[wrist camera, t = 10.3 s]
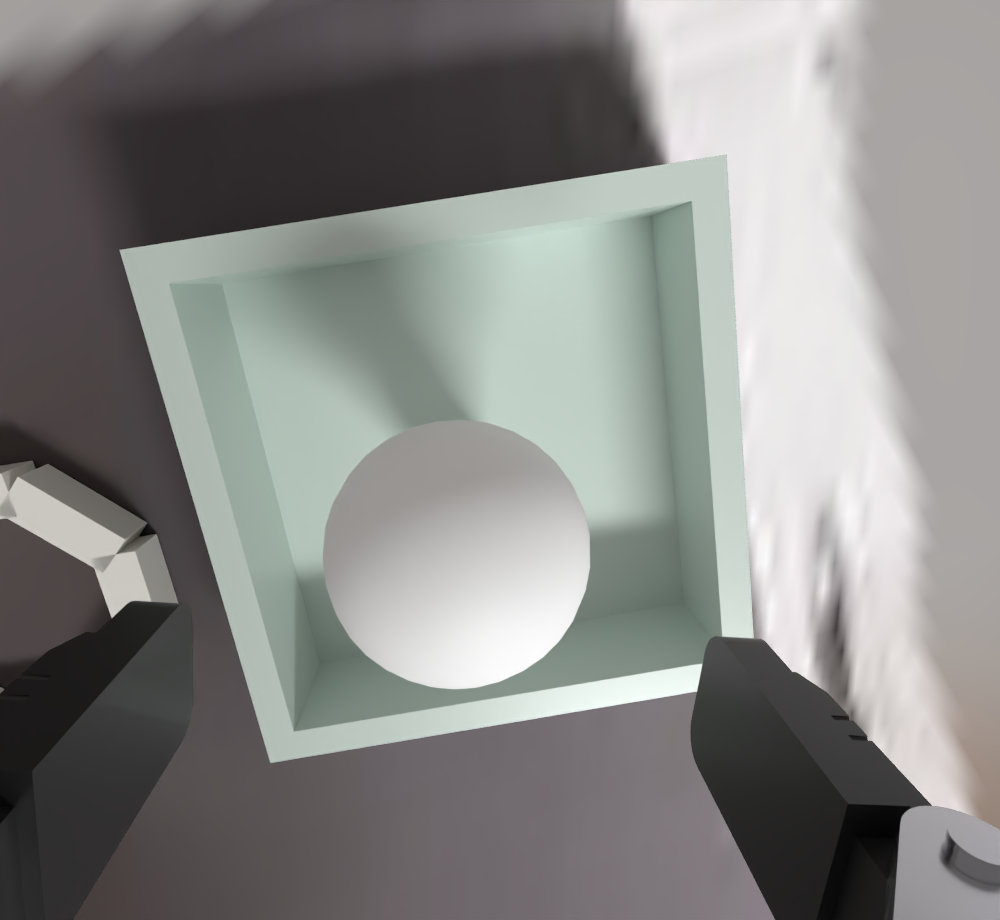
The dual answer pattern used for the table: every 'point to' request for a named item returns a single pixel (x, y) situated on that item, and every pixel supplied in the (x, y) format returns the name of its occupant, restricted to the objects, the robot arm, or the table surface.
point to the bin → (465, 396)
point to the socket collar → (87, 532)
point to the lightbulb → (456, 554)
